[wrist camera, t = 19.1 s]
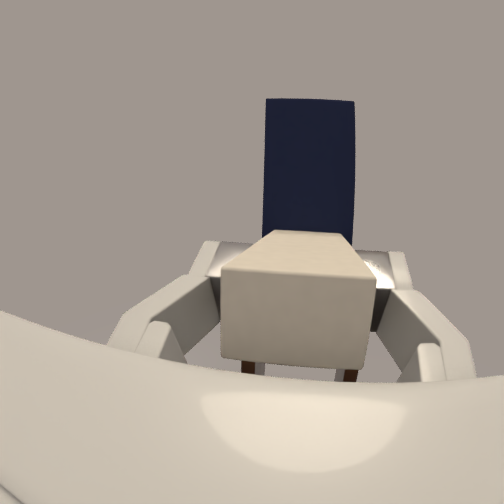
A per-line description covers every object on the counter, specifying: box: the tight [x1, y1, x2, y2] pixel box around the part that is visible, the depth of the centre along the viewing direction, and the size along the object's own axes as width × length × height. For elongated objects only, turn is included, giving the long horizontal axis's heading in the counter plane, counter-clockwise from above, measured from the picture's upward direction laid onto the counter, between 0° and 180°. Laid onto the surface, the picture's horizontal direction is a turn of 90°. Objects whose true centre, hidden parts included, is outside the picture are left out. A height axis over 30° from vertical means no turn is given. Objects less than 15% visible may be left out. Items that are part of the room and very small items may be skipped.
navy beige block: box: [220, 98, 377, 370], centre depth 12 cm, size 4×13×8 cm, turn 169°
